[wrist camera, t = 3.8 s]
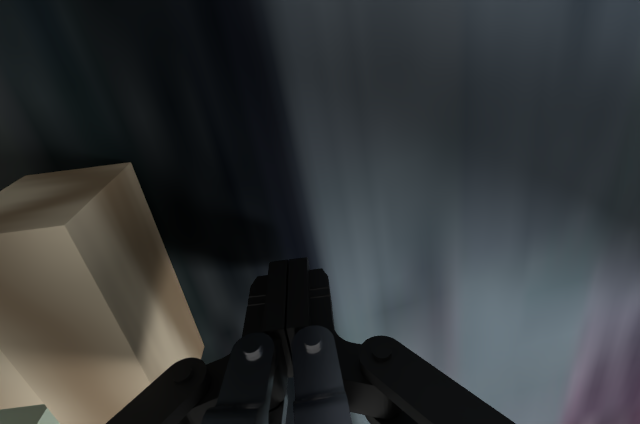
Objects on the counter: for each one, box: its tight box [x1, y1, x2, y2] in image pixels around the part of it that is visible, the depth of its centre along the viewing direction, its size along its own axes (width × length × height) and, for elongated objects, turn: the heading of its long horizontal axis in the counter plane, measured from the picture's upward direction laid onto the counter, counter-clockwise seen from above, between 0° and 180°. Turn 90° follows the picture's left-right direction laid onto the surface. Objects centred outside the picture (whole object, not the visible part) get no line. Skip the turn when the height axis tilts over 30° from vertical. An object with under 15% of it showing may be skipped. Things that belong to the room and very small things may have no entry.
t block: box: [0, 162, 204, 424], centre depth 14 cm, size 10×10×4 cm
